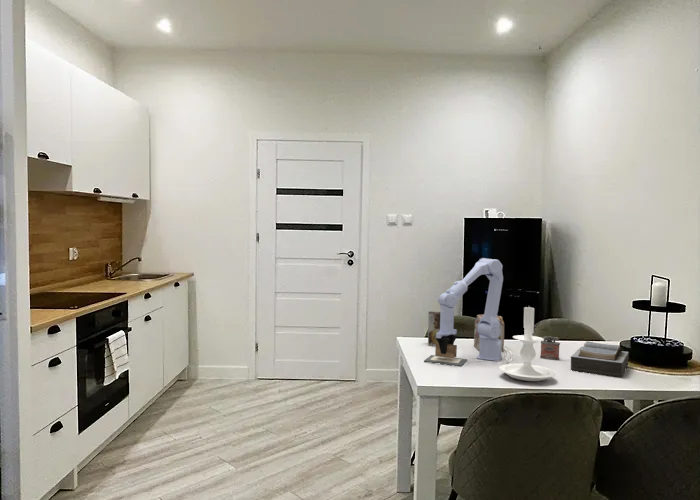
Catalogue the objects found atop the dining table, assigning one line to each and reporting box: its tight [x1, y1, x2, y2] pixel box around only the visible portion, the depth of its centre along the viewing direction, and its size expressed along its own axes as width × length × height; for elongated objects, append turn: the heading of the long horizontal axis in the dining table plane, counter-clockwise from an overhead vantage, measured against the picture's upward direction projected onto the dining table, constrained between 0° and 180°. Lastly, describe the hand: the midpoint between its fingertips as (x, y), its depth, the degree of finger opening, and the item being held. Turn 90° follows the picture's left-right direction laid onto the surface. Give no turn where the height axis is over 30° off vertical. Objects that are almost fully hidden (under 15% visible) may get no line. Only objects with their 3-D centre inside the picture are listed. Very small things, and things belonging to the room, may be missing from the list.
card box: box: [434, 343, 458, 358], centre depth 232 cm, size 4×8×5 cm, turn 51°
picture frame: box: [423, 354, 468, 368], centre depth 232 cm, size 16×12×1 cm
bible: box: [570, 340, 630, 379], centre depth 226 cm, size 23×27×10 cm
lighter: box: [539, 335, 561, 361], centre depth 241 cm, size 8×3×10 cm, turn 62°
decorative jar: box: [473, 313, 505, 353], centre depth 259 cm, size 12×12×18 cm
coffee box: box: [427, 311, 440, 347], centre depth 265 cm, size 9×6×16 cm
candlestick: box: [499, 306, 557, 382], centre depth 209 cm, size 21×25×28 cm
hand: (446, 352), depth 232 cm, fingers closed on card box, 4 cm apart
